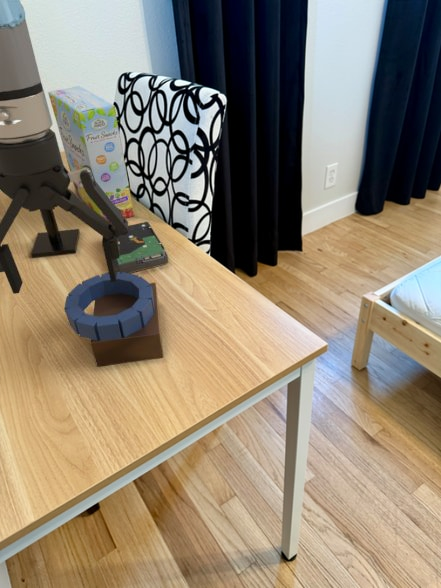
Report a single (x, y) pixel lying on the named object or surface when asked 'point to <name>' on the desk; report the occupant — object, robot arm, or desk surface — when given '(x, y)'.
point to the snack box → (93, 144)
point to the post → (54, 238)
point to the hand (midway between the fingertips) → (66, 282)
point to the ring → (112, 324)
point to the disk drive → (140, 249)
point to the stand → (135, 345)
